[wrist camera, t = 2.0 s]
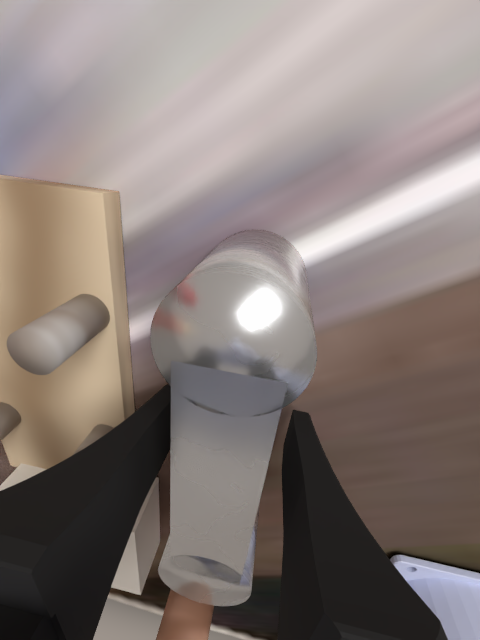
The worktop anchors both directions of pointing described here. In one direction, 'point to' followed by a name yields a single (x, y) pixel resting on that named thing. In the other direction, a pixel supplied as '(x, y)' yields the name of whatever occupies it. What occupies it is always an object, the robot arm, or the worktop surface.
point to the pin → (185, 619)
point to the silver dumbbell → (228, 403)
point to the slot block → (140, 540)
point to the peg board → (46, 281)
